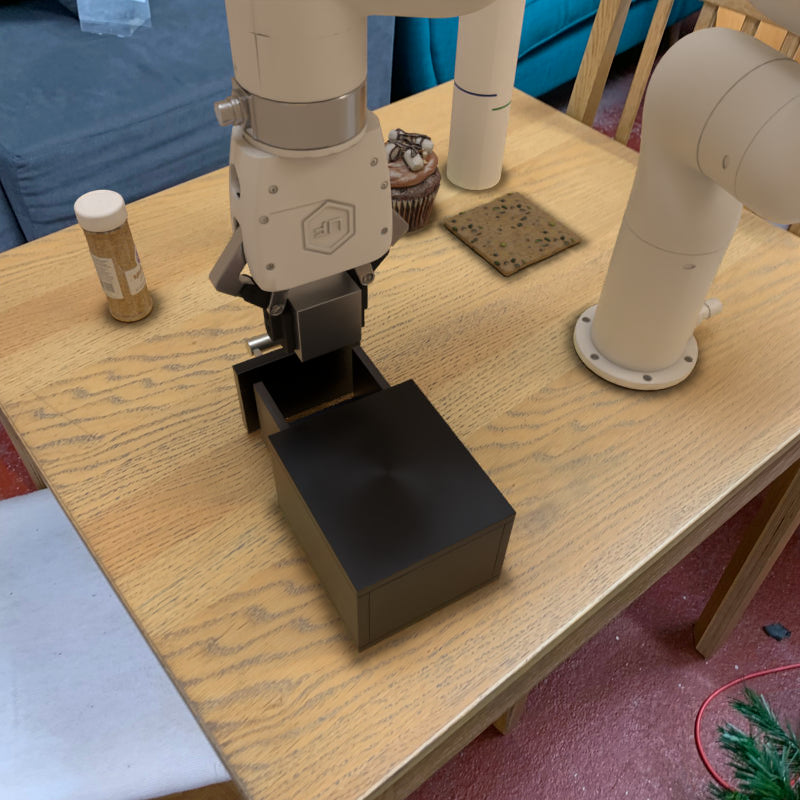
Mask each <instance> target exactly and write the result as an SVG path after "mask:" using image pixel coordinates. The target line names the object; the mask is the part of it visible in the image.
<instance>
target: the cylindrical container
mask: <svg viewBox="0 0 800 800" xmlns="http://www.w3.org/2000/svg"><path fill="white" fill-rule="evenodd" d="M526 1H527V0H496V1H494V2H493V3H492V4H490V5H488V6H487V7H485V8H483V9H481V10H478V11H476V12H473V13H470V14H467V15H463V16H458V26H457V28H458V29H457V39H456V49H455V50H456V51H455V65H454V77H453V79H454V80H453V87H452V99H451V100H452V101H451V111H450V112H451V113H450V123H449V124H450V125H449V136H448V149H447V159H446V160H447V162H446V177H447V179H448V181H449V182H451V184H453V185H455V186H456V187H458V188H462V189H465V190H470V191H483V190H487V189H491V188H493V187H495V186H497V184H499V183H500V180H501V175H502V170H503V163H504V155H505V149H506V141H507V136H508V129H509V122H510V121H509V120H510V114H511V108H512V107H511V106H512V99H513V92H514V86H515V79H516V71H517V64H518V57H519V50H520V44H521V37H522V30H523V23H524V15H525V8H526Z"/></svg>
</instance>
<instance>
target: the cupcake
mask: <svg viewBox="0 0 800 800" xmlns="http://www.w3.org/2000/svg"><path fill="white" fill-rule="evenodd" d="M387 138H388V140H387V141H384V144H385V149H386V155H387V162H388V169H389V176H390V186H391V200H392V208H393V209H394V210H395V211H396V212H397V213H398V214H399V215H400V216H401V217H402V218H403V219H404V220H405V221H406V222H407V223H408V225H409V229H408V231H407V232H406V233H408V232H413V231H416V230H417V229H421V228H423V226H425V225H427V224H428V222H429V219H430V216H431V213H432V209H433V206H434V203H435V199H436V198H437V195H438V193H439V190H440V188H441V180H442V174H441V171H440V169H439V166H438V165H439V158H438V155H437V154H436V153H435V151H434V146H435V143H434V142H433V141H432V137H431V136H428V135H427V134H423V133H418V132H407V131H404V129H401V128H400V127H397V128H396V129H394V128H393V129H391V130H390V131H389V132H388V135H387Z"/></svg>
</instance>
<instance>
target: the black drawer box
mask: <svg viewBox="0 0 800 800" xmlns="http://www.w3.org/2000/svg"><path fill="white" fill-rule="evenodd" d="M268 443H269V448H270V451H269V453H270V460H271V465H272V473H273V479H274V484H275V490H276V496H277V503H278V508H279V510H280V512H281V513H282V515H283V517H284V519H285V521H286V524H287V525H288V527H289V528H290V530H291V532H292V534H293V536H294V538H295V539H296V541H297V542H298V545H299V546H300V548H301V550H302V552H303V554H304V555H305V558H306V560H307V561H308V563H309V565H310V566H311V567H310V568H311V569H312V570H313V572H314V574H315V576H316V577H317V579H318V582H319V583H320V585H321V587H322V589H323V590H324V592H325V594H326V595H327V597H328V600H329V601H330V603H331V606H332V607H333V609H334V610H335V612H336V614H337V616H338V618H339V620H340V621H341V624H342V625H343V627H344V629H345V631H346V632H347V634H348V636H349V638H350V640H351V642H352V644H353V645H354V647H355V649H356V651H357V653H359V654H360V653H363V652H364V651H366V650H368V649H370V648H371V647H374V646H376V645H377V644H379V643H382V642H384V641H385V640H387V639H389V638H390V637H393V636H395V635H396V634H398V633H400V632H402V631H403V630H406V629H408V628H410V627H411V626H413V625H415V624H417V623H419V622H420V621H423V620H424V619H426V618H428V617H430V616H432V615H434V614H435V613H437V612H439V611H442V610H444V609H446V608H447V607H449V606H451V605H452V604H454V603H456V602H459V601H461V600H462V599H464V598H466V597H468V596H470V595H472V594H474V593H475V592H477V591H479V590H481V589H483V588H485V587H487V586H488V585H491V584H492V583H495V582H496V581H499V579H500V577H501V574H502V570H503V566H504V562H505V558H506V555H507V551H508V546H509V542H510V540H511V539H510V538H511V536H512V532H513V529H514V528H513V527H514V523H515V520H516V516H517V511H516V510H515V508H514V507H513V506H512V504H511V503H510V502H509V501H508V499H507V498H506V497H505V496H504V494H503V493H502V492H501V491H500V489H499V488H498V487H497V485H496V484H495V482H494V481H493V480H492V479H491V477H490V476H489V475H488V473H487V472H486V471H485V470H484V469H483V467H482V466H481V465H480V464H479V462H478V461H477V460H476V458H475V457H474V456H473V454H472V453H471V452H470V451H469V449H468V448H467V447H466V446H465V444H464V443H463V442H462V440H461V439H460V438H459V437H458V435H457V434H456V433H455V431H454V430H453V429H452V428H451V426H450V425H449V424H448V423H447V421H446V420H445V418H444V417H443V416H442V415H441V414H440V412H439V411H438V409H436V407H435V406H434V404H432V402H431V400H430V399H429V398H428V397H427V395H426V394H425V393H424V392H423V390H422V389H421V388H420V386H419V385H418V384H417V383H416V381H415V380H414V379H413V378H410V379H407V380H404V381H402V382H399V383H397V384H394V385H392V386H391V387H389V388H387V389H384V390H382V391H379V392H377V393H374V394H372V395H369V396H367V397H364V398H362V399H359V400H357V401H354V402H352V403H349V404H347V405H344V406H342V407H339V408H337V409H334V410H332V411H329V412H327V413H324V414H322V415H319V416H317V417H314V418H312V419H309V420H307V421H304V422H302V423H299V424H297V425H294V426H292V427H289V428H287V429H284V430H282V431H279V432H277V433H274V434H272V435H269V436H268Z"/></svg>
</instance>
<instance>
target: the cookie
mask: <svg viewBox="0 0 800 800" xmlns="http://www.w3.org/2000/svg"><path fill="white" fill-rule="evenodd" d="M443 226H445V227H446V229H448V230H449V231H450V232H451V233H453V234H454V235H455V236H456V237H457V238H459V239H460V240H461V241H462V242H463V244H465V245H467V246H468V247H470V248H471V250H472V251H474V252H475V253H476V254H478V255H480V256H481V257H482V258H484V260H485V261H487V262H488V263H489V264H490V265H491V266H492V267H494V268H496V269H497V270H498V272H499V273H501V274H502V275H503V276H505V277H509V276H511V275H512V274H514V273H516V272H518V271H519V270H521V269H523V268H526V267H527V266H529V265H532V264H535V263H537V262H539V261H541V260H544V259H547V258H548V257H550V256H554V255H555V254H556V253H558V252H561V251H563V250H565V249H567V248H568V247H570V246H574V245H576V244H579V243H580V242H581V241H582V238H581V237H580V236H579V235H577V234H576V233H574V232H573V231H572V230H570V229H569V228H568V227H567V226H565V225H563V223H561V222H559V221H558V220H557V219H555V218H553V216H551V215H549V214H548V213H547V212H545V211H544V210H543V209H541V208H540V207H539V206H538V205H536V204H534V203H533V202H532V201H530V200H529V199H528V198H527V197H525V196H523V195H522V194H521V193H520V192H518V191H515V192H509V193H506V194H505V195H503V196H501V197H497V198H495V199H494V200H492V201H489V202H486V203H484V204H482V205H479V206H476V207H474V208H472V209H471V208H470V209H468V210H466V211H460V212H459V213H458V214H456V215H454V216H452V217H449V218H448V219H446V220H445V221H444V222H443Z"/></svg>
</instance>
